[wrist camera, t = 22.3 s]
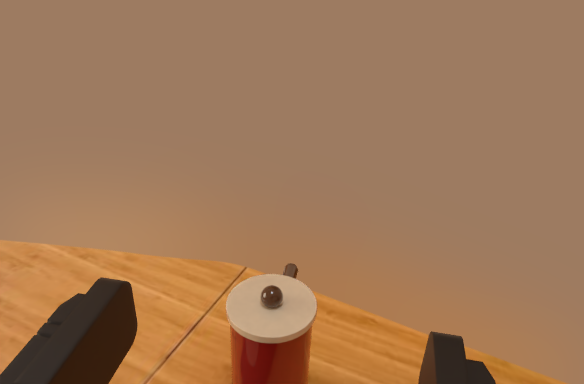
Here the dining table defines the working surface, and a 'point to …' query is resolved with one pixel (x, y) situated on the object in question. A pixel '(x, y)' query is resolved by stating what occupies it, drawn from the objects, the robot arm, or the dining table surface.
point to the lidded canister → (271, 329)
